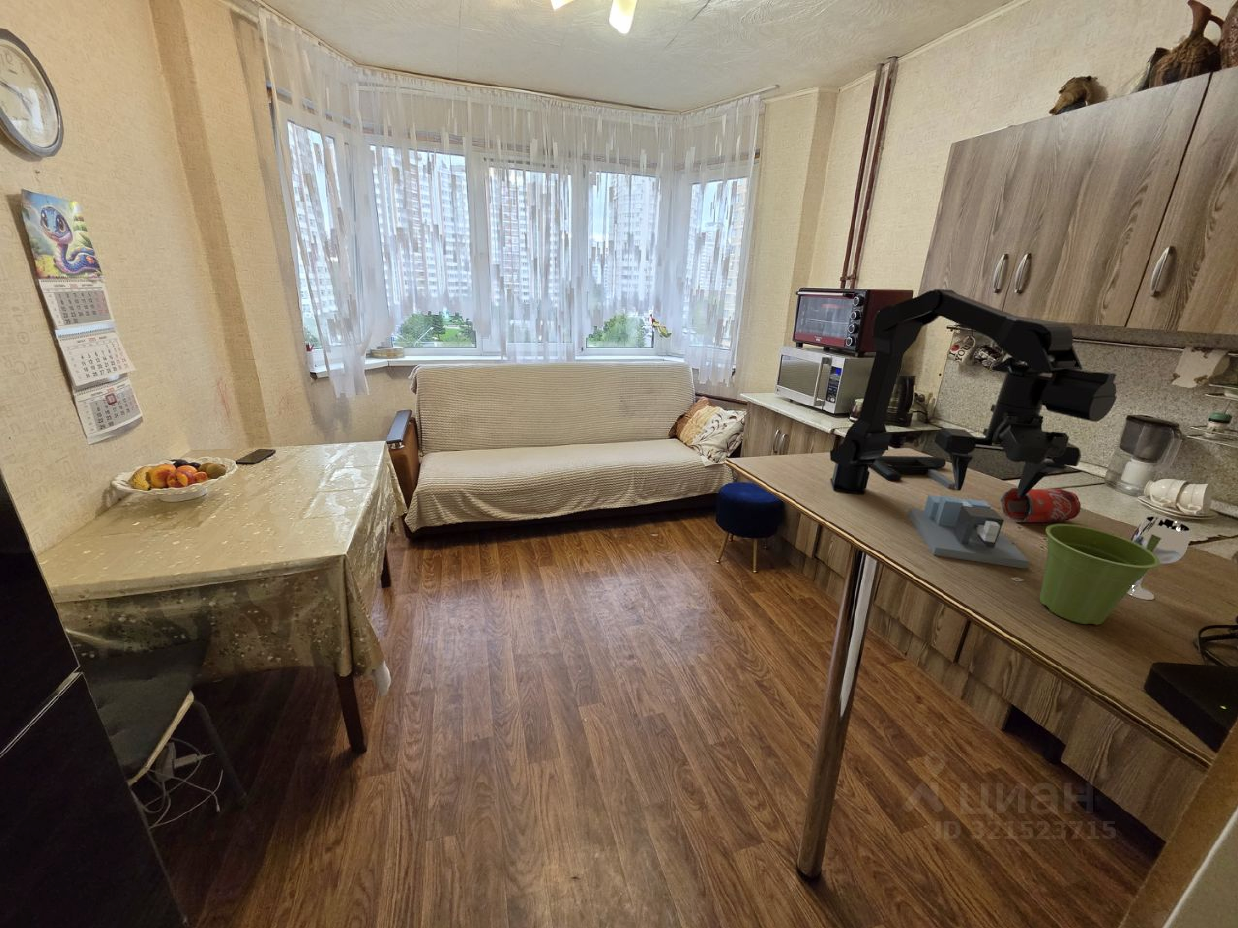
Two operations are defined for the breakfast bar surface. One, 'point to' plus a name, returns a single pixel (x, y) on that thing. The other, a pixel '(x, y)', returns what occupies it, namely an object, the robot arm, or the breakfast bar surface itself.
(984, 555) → the vise
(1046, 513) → the beverage can
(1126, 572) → the plant pot
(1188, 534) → the wineglass
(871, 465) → the black flat piece
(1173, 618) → the breakfast bar surface
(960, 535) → the dark grey block
